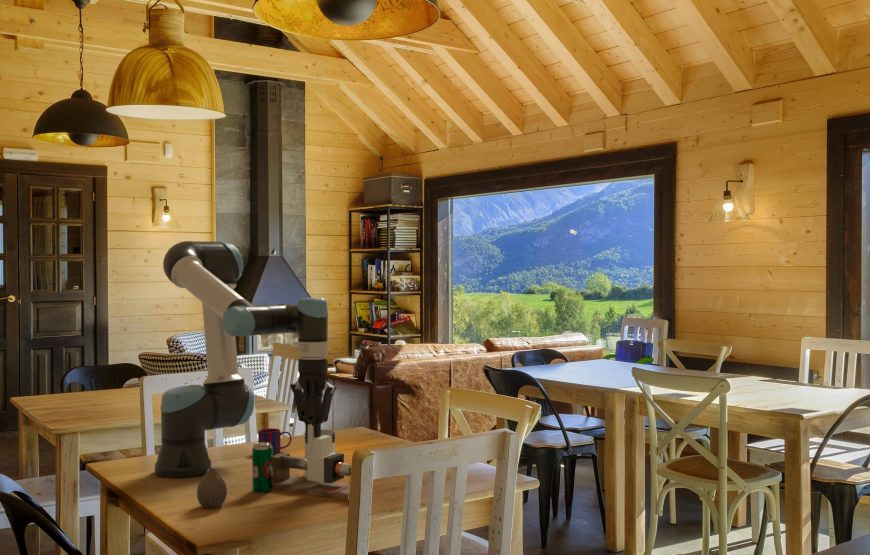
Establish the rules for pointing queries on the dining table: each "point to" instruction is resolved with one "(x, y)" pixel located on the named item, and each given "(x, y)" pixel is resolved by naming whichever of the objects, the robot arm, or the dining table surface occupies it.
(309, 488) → the stand
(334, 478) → the dark grey square collar
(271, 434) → the mug
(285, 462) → the pipe
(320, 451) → the sleeve
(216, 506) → the vase
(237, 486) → the dining table surface
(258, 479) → the soda can
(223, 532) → the dining table surface
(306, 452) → the jar
